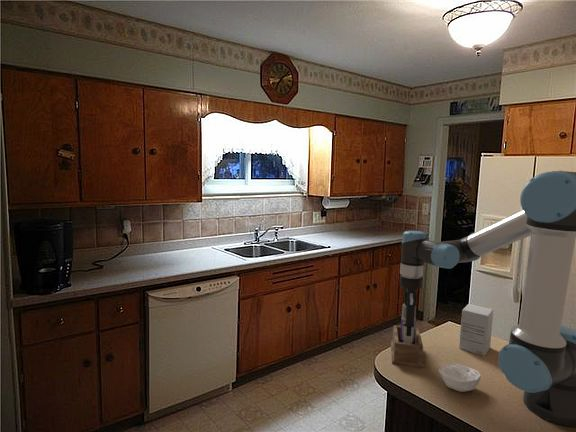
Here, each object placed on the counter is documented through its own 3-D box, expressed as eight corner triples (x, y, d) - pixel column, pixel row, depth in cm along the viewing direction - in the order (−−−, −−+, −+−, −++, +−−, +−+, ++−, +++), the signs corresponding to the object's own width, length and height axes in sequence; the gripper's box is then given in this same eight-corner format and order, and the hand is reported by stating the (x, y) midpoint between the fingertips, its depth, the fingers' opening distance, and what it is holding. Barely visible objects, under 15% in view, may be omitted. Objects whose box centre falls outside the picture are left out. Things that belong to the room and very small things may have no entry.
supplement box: (464, 340, 146) (468, 303, 144) (490, 347, 141) (494, 308, 139) (458, 348, 139) (461, 309, 137) (484, 356, 134) (488, 315, 132)
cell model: (487, 396, 109) (490, 374, 108) (448, 398, 108) (450, 376, 107) (467, 377, 119) (469, 357, 118) (431, 379, 118) (432, 358, 117)
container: (402, 342, 136) (404, 302, 135) (415, 346, 134) (418, 305, 132) (397, 347, 133) (400, 305, 131) (411, 351, 130) (414, 308, 128)
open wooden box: (423, 367, 124) (425, 347, 124) (392, 363, 127) (393, 343, 126) (418, 345, 140) (419, 327, 140) (390, 342, 143) (391, 324, 142)
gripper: (425, 284, 121) (421, 353, 124) (420, 270, 138) (416, 331, 141) (401, 281, 123) (397, 350, 125) (398, 268, 140) (395, 329, 142)
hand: (407, 340), depth 133 cm, fingers closed on container, 5 cm apart
